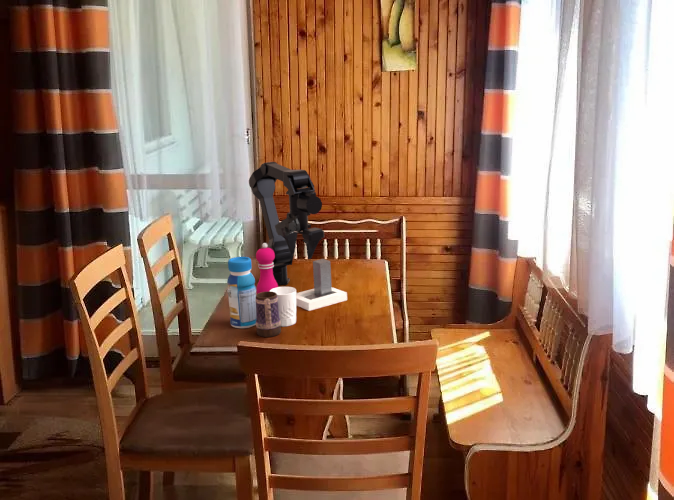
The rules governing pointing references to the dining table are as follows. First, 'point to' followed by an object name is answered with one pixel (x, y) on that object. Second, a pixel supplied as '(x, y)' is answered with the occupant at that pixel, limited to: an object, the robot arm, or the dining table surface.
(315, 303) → the block
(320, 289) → the grey block
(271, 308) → the mug
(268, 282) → the pepper mill
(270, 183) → the robot arm
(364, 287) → the dining table surface
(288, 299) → the white cup
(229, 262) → the beverage bottle
